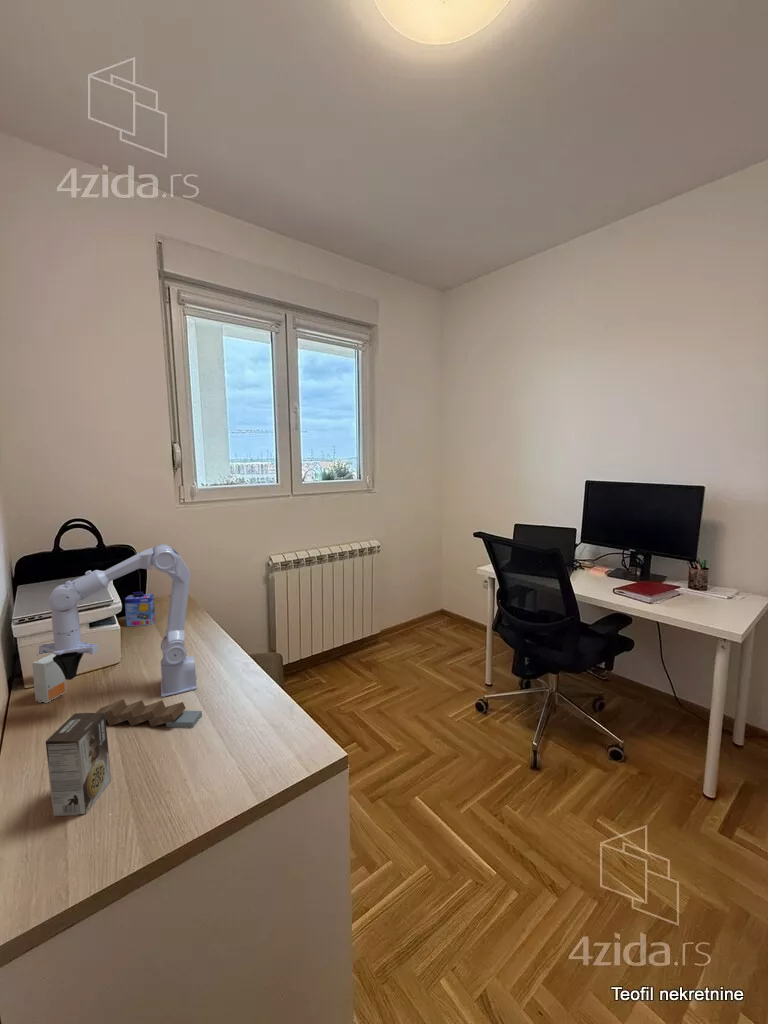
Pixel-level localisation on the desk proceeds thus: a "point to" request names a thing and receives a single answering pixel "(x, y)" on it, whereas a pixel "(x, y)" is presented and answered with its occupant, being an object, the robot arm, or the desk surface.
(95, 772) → the coffee box
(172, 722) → the domino
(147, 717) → the domino
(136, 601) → the ink cartridge box
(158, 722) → the domino
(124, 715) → the domino
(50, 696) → the skincare box
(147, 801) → the desk surface
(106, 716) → the domino
